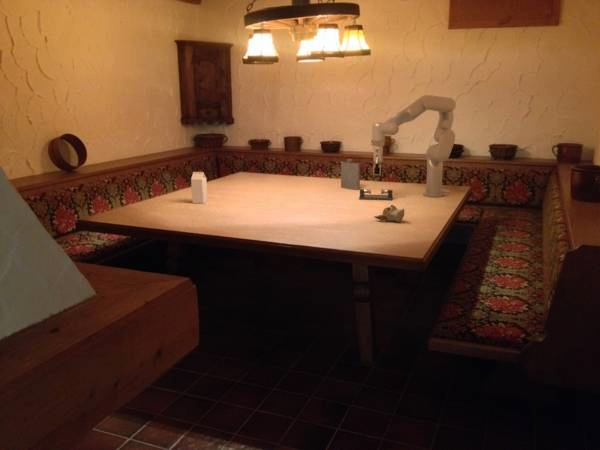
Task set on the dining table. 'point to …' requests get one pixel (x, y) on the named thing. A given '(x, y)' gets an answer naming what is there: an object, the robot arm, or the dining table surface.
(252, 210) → the dining table surface
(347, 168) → the hip flask
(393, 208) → the ceramic sculpture
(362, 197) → the shaft rig
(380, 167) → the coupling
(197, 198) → the milk carton
